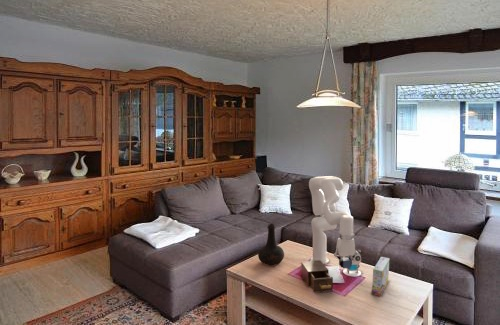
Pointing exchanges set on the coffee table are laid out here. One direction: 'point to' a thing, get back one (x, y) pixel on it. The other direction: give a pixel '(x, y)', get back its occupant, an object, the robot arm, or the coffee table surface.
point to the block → (346, 262)
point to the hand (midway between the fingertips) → (345, 265)
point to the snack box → (380, 276)
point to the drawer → (321, 282)
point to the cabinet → (311, 269)
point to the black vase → (271, 249)
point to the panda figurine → (354, 266)
